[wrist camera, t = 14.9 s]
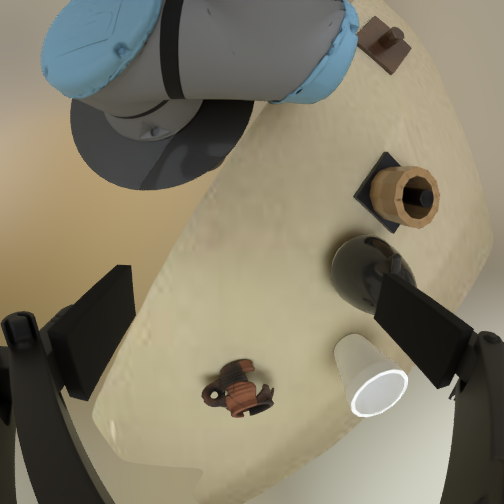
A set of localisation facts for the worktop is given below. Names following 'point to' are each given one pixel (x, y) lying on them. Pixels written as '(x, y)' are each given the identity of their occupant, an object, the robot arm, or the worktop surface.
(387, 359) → the foam cup
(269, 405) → the pottery mug
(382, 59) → the low peg stand
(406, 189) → the square base peg
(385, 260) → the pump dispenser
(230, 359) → the worktop surface
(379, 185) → the maple ring
